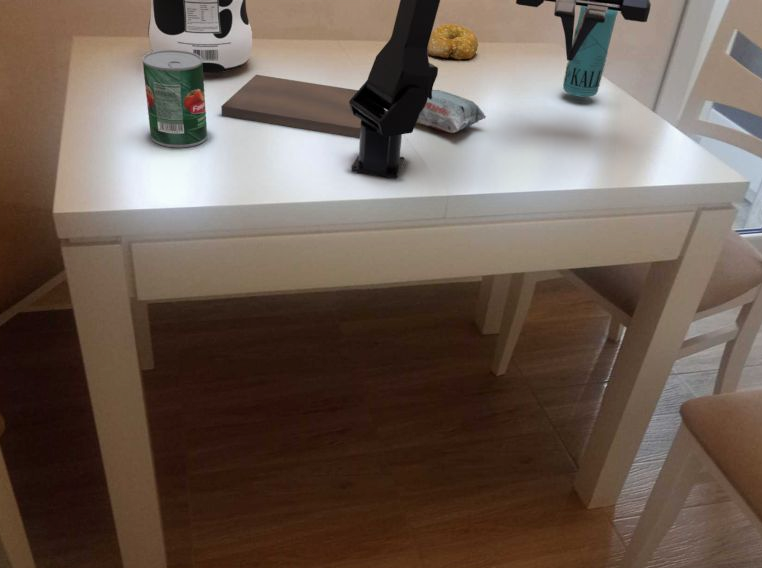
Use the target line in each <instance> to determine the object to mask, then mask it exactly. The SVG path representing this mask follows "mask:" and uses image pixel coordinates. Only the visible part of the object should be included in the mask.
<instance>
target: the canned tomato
mask: <svg viewBox="0 0 762 568" xmlns="http://www.w3.org/2000/svg"><path fill="white" fill-rule="evenodd" d="M141 62H142V68H143V78H144V86H145V87H144V88H145V96H146V97H145V98H146V104H147V105H146V106H147V114H148V123H149V131H150V135H149V136H150V139H151V141H152V142H154V143H155V144H157V145H159V146H163V147H168V148H175V149H178V148H180V149H181V148H191V147H195V146H198V145H201V144H202V143H204V142H206V140H207V139H208V129H207V127H208V125H207V112H206V111H207V110H206V96H205V81H204V80H205V77H204V73H203V59H202V57H200V56H199V55H197V54H195V53H192V52H187V51H180V50H160V51H154V52H152V51H150V52H147V53H146V54H143V56H142V57H141Z"/></svg>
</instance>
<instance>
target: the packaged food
mask: <svg viewBox="0 0 762 568" xmlns="http://www.w3.org/2000/svg"><path fill="white" fill-rule="evenodd" d="M486 118H487V116H486V114H485V113H484V112H483V110H482V109H481V108H480V107H479V106H478V105H477V104H476V102H474V101H473V100H470V99H467V98H464V97H462V96H459V95H456V94H453V93H451V92H448V91H444V90H440V89H432V99H429V98H428V99H427V102H426V105H425V107H424V109H423V110H422V112H420V115H419V117H418V120H417V122H416V124H421V125H423V126H426V127H430V128H432V129H435V130H438V131H442V132H446V133H451V134H453V133H457V132H459V131H461V130H463V129H464V128H467V127H470V126H472V125H474V124H477V123H479V122H480V121H482V120H483V119H484V120H485V119H486Z"/></svg>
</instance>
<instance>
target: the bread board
mask: <svg viewBox="0 0 762 568" xmlns="http://www.w3.org/2000/svg"><path fill="white" fill-rule="evenodd" d="M358 90H359V89H352V88H345V87H339V86H333V85H326V84H321V83H314V82H307V81H301V80H294V79H293V80H292V79H287V78H281V77H274V76H267V75H260V74H255V75H254V76H253V77H252V78H251V79H249V80H248V82H246V83H245V84H244V85H243V86H242V87H241V88H239V89H238V90H237V91H236V92H235V93H234V94H233V95H232V96H231V97H230V98H229V99H227V100H226V101H225V102H224V103H222V105H221V106H220V107H221V116H223V117H229V118H235V119H241V120H247V121H252V122H260V123H265V124H266V123H267V124H273V125H279V126H286V127H290V128H297V129H303V130H310V131H315V132H322V133H329V134H333V135H334V134H335V135H340V136H345V137H346V136H347V137H353V138H359V139H360V128H361V119H359V118H358V117H357V116H354V115H353V114H352V112H351V108H350V105H349V101H350V100H351V98H352V97H353V96H354V95H355V94H356V93H357V91H358Z"/></svg>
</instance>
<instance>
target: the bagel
mask: <svg viewBox="0 0 762 568" xmlns="http://www.w3.org/2000/svg"><path fill="white" fill-rule="evenodd" d="M478 48H479V42H478V38H477V35H476V34H475V33H474V32H473V31H472V30H470V29H468V28H467V27H465V26H462V25H460V24H457V23H448V24H447V23H446V24H441V25H439V26H438V27H436V29H435V30H432V33H431V37H430V41H429V44H428V50H427V53H428V55H430V56H432V57H437V58H441V59H442V58H443V59H448V58H451V59H455V60H468V59H471V58H473V57H474V56H475V54H476V53H477V51H478Z"/></svg>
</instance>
